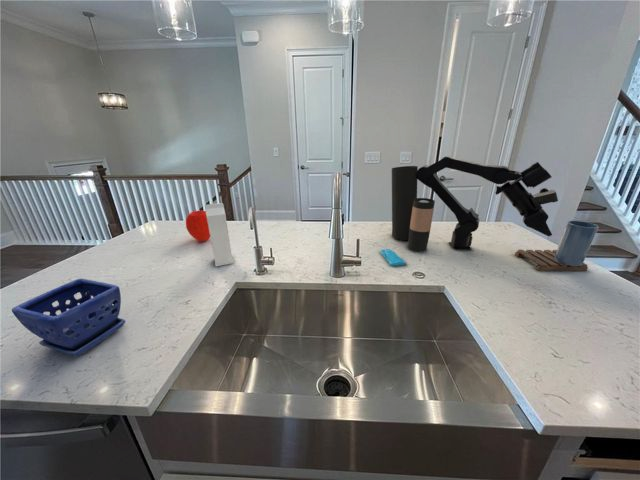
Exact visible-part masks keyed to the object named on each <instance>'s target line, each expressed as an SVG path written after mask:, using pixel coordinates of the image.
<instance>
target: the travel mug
mask: <svg viewBox="0 0 640 480" xmlns="http://www.w3.org/2000/svg"><path fill="white" fill-rule="evenodd" d="M435 203H436V201H435V200H434V199H431V198H427V197H417V198H416V199H414V202H413V209H412V215H411V222H410V230H409V240H407V249H408V250H409V251H411V252H414V253H424V252H426V251H427V248H428V245H429V239H430V233H431V229H432V221H433V215H434V209H435Z"/></svg>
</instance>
